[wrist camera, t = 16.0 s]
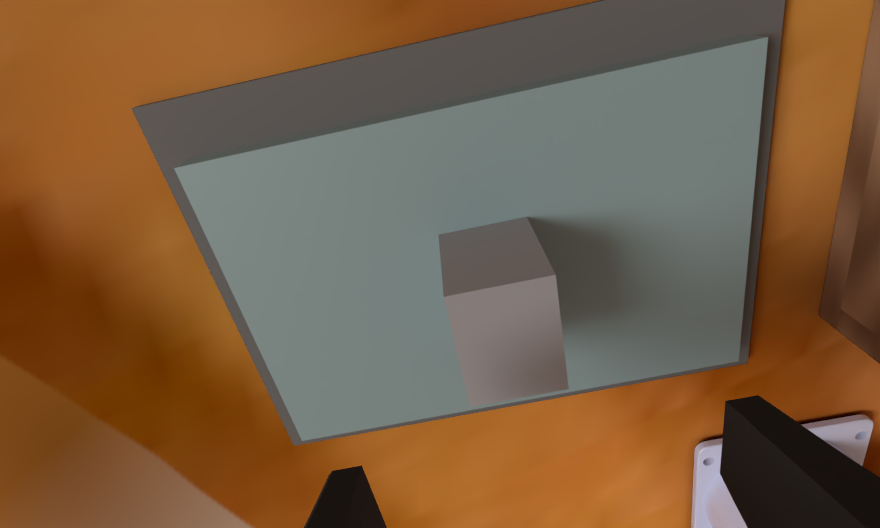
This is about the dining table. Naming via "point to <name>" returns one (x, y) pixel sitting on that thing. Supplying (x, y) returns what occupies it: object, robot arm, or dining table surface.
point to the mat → (449, 78)
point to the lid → (496, 240)
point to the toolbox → (859, 218)
